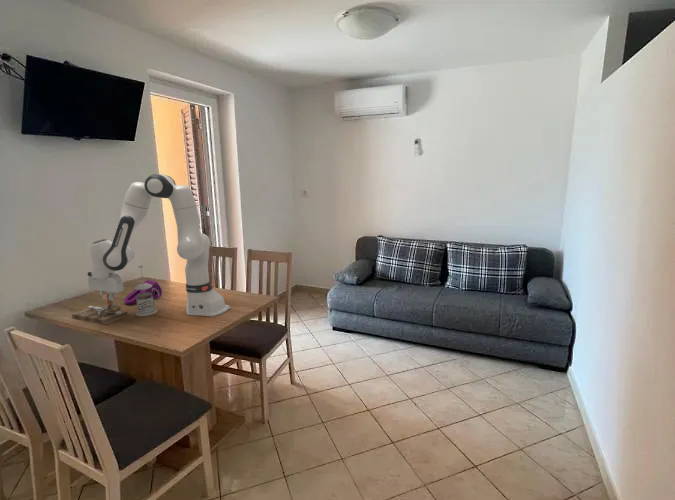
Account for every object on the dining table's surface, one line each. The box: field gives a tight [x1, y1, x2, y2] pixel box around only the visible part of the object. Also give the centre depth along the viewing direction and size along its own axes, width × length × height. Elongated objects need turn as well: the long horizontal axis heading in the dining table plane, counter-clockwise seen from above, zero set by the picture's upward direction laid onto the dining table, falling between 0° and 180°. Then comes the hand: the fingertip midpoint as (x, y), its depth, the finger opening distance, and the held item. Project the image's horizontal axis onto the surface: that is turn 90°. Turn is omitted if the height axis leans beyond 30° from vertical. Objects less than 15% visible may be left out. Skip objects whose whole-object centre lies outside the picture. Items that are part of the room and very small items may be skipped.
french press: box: [134, 264, 160, 317], centre depth 192 cm, size 10×12×25 cm
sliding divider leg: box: [98, 292, 115, 315], centre depth 187 cm, size 3×8×9 cm, turn 158°
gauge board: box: [71, 304, 129, 325], centre depth 189 cm, size 24×12×6 cm, turn 68°
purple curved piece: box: [123, 279, 163, 306], centre depth 213 cm, size 9×8×18 cm
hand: (108, 299), depth 188 cm, fingers closed on sliding divider leg, 2 cm apart
